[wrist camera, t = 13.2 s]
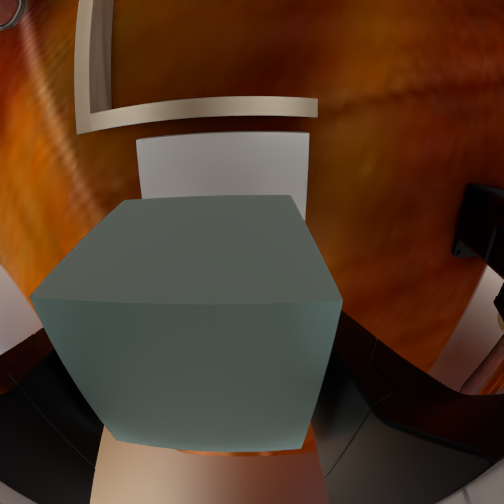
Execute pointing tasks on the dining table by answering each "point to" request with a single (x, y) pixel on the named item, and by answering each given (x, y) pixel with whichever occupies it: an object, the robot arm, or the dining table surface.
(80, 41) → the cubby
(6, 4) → the lighter
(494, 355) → the gavel
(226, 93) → the dining table surface
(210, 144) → the ceramic tile
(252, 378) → the cube
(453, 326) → the dining table surface
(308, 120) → the dining table surface
